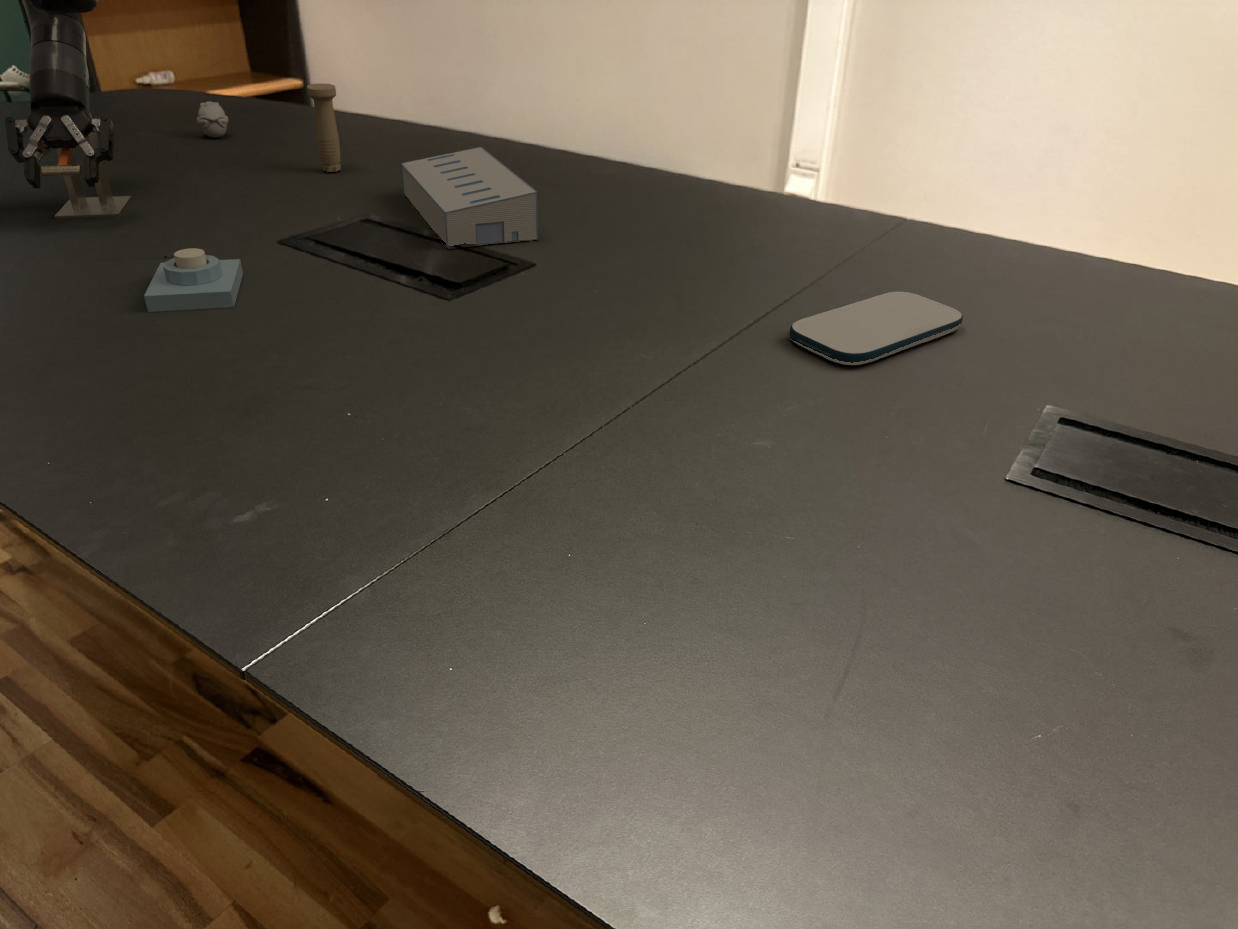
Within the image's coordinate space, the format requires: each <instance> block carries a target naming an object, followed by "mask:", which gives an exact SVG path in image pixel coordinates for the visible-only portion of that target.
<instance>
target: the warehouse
mask: <svg viewBox="0 0 1238 929" xmlns="http://www.w3.org/2000/svg"><path fill="white" fill-rule="evenodd" d="M400 168H401V170H400V171H401V181H402V188H403V189H402V192H403V194H404V193H405V194H406V196H407V197H408V198H409V199H410V201H411V202H412V204H414V206H415V207H416V209H417V210H418V211H419V212H420V214H421V215H422V216H423V217H424V219H425V220H426V221H427V222H428V224H429V225H430V226H431V228H432V229H433V230H434V231H435V232H436V233H437V234H439V236H440V237H441V238H442V240H443V241H444V242H445V243H446V245H447V246H454V245H459V244H464V243H466V244H484V243H494V242H507V241H513V240H531V239H532V240H533V239H538V240H539V199H538V196H539V193H538V190H536V189H535V188H534V187H532V186H531V185H530V184H529V183H527V182H526V181H524V179H522V178H521V177H520V176H519V175H517V174H516V173H515V172H514V171H512V170H511V169H510V168H508V167H507V166H506V165H505V164H503V163H502V162H501V161H500V160H499V159H498V158H497V157H495V156H494V155H492V153H490V152H489V151H487V150H486V149H485V148H483V147H482V146H478V147H474V148H469V149H463V150H459V151H454V152H453V151H452V152H449V153H445V154H440V155H435V156H430V157H425V158H421V159H415V160H410V161H405V162H401V163H400Z"/></svg>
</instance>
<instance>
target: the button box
mask: <svg viewBox="0 0 1238 929" xmlns="http://www.w3.org/2000/svg"><path fill="white" fill-rule="evenodd" d="M205 256H206V261H207V265H205V266H202V267H197V268H189V269H183V268H177V266H176V262H175V258H174V257H172V258H171V259H168V260H167V261H165V262H160V263H159V265H158V267H157V269H156V271H155V273H154V275H153V276H152V280H151V281H150V283H149V285H148V286H147V289H146V291H145V292H144V295H143V299H144V301H145V302H144V303H145V306H146V309H147V313H158V312H159V313H160V312H175V311H192V310H212V309H227V308H228V309H229V308H235V306H236V301H237V297H238V294H239V291H240V286H241V283H242V280H243V277H244V276H243V275H244V271H243V267H242V262H241V259H240V258H235V259H234V258H233V259H219V258H218V257H216V256H214V255H212V254H211V255H210V254H205Z"/></svg>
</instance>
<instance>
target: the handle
mask: <svg viewBox="0 0 1238 929" xmlns="http://www.w3.org/2000/svg"><path fill="white" fill-rule="evenodd" d="M306 90H307V96H308V97H309V98H311V99H312V100H313V107H314V108H313V109H314V116H315V117H314V118H315V129H316V130H315V131H316V141H317V147H318V153H319V157H320V162H321V163H322V164H321V167H322V171H323V172H324V171H326V172H325V173H328V172H337V171H339V170H340V171H342V163H341V147H340V137H339V133H338V127H337V121H336V116H335V109H334V103H333V100H334V98H335V97H337V89H336V86H335V85H334V84H332V83H311V84H307V86H306ZM340 171H339V172H340ZM337 173H338V172H337Z"/></svg>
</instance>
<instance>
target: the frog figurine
mask: <svg viewBox="0 0 1238 929" xmlns="http://www.w3.org/2000/svg"><path fill="white" fill-rule="evenodd" d="M196 122H197V124H198V126H200V128H201V130H202V132H203V133H204V134H205V135H206V136H208V137H210V138H213V139H218V138H221V137H223V136H224V135H225V134H226V133H227V129H228V126H227V125H228V124H229V117H228V116H227V115H226V113H225V110H224V109H223V107H222V106H221V105H220V103H219V102H216V101H214V102H213V101H212V100H210V101H205V102H201V103H200V104H199V108H198V111H197V117H196Z"/></svg>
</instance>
